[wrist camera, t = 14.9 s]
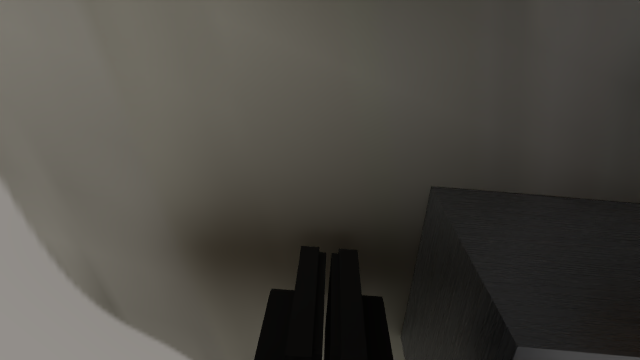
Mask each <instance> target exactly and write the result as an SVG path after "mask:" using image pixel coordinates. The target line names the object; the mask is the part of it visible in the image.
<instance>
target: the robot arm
mask: <svg viewBox="0 0 640 360" xmlns="http://www.w3.org/2000/svg"><path fill="white" fill-rule="evenodd" d="M325 268H326V253H323V252H319V247H307V246H301V252H300V259H299V265H298V272H297V279H296V286H295V290H282V289H271V291H270V295H269V299H268V303H267V308H266V312H265V316H264V320H263V325H262V329H261V333H260V337H259V341H258V346H257V350H256V354H255V358H254V360H322V345H323V319H324V294H325ZM324 360H393V355H392V349H391V343H390V337H389V331H388V326H387V320H386V314H385V308H384V302H383V298H382V297H378V296H365V295H362V294H361V283H360V273H359V262H358V252H357V250H349V249H339V252H338V254H337V253H332V255H331V266H330V278H329V289H328V301H327V313H326V325H325V348H324Z"/></svg>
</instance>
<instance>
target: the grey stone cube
mask: <svg viewBox="0 0 640 360" xmlns="http://www.w3.org/2000/svg"><path fill="white" fill-rule="evenodd" d="M401 341H402V346H403V352H404V357H405V360H640V204H637V203H625V202H613V201H601V200H588V199H576V198H564V197H552V196H540V195H527V194H515V193H503V192H491V191H479V190H466V189H454V188H442V187H431V192H430V197H429V202H428V206H427V211H426V216H425V221H424V226H423V231H422V236H421V241H420V246H419V251H418V256H417V261H416V266H415V270H414V275H413V280H412V285H411V290H410V295H409V300H408V305H407V310H406V315H405V320H404V325H403V330H402V334H401Z"/></svg>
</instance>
